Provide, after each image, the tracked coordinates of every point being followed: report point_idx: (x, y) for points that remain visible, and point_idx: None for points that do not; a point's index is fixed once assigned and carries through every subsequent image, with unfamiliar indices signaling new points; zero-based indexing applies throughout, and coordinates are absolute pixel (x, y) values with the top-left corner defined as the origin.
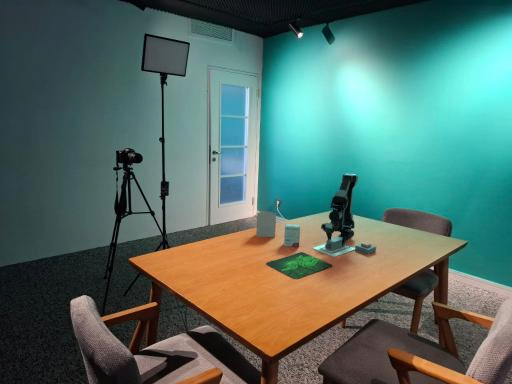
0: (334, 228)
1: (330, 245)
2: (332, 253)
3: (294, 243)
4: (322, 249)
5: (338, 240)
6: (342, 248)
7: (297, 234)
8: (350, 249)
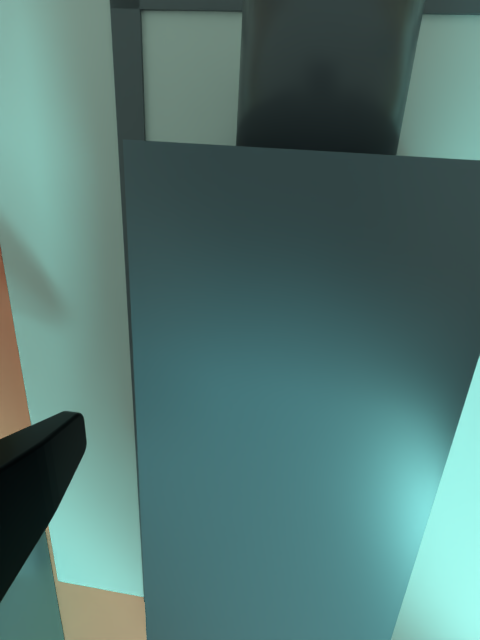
0: None
1: (241, 137)
2: (102, 17)
3: None
4: (468, 36)
5: (159, 543)
6: None
7: None
8: (79, 508)
